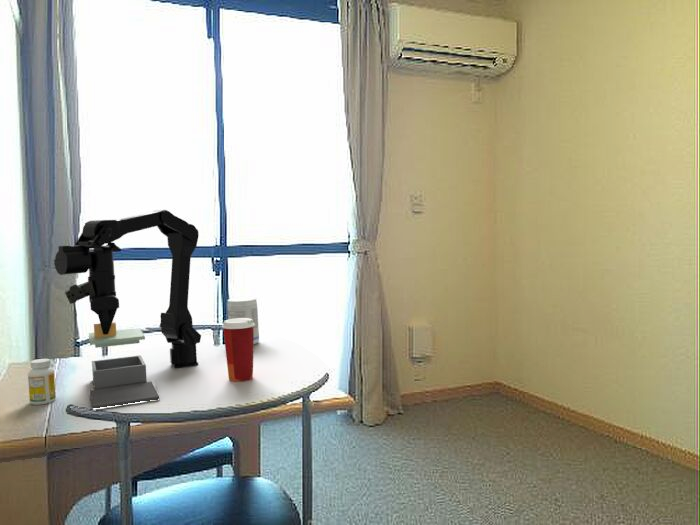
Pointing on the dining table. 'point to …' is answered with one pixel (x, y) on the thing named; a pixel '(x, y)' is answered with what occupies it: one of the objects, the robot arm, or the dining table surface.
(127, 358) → the tub
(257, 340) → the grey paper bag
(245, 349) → the coffee cup
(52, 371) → the supplement bottle
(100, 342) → the lid
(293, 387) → the dining table surface
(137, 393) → the mat
